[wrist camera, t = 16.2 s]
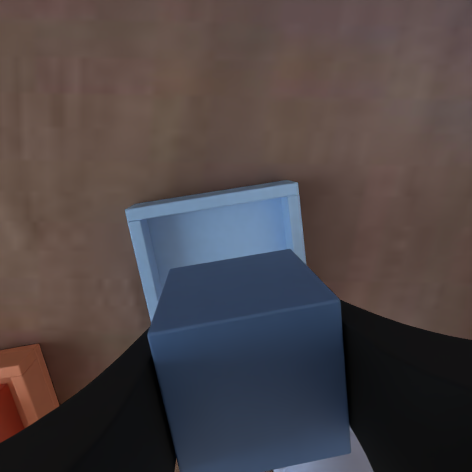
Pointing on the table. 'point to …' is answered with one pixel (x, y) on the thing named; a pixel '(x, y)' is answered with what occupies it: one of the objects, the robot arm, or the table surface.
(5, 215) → the table surface
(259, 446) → the blue block
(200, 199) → the blue tray
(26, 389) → the red tray
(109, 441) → the robot arm
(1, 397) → the red block
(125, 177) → the table surface
